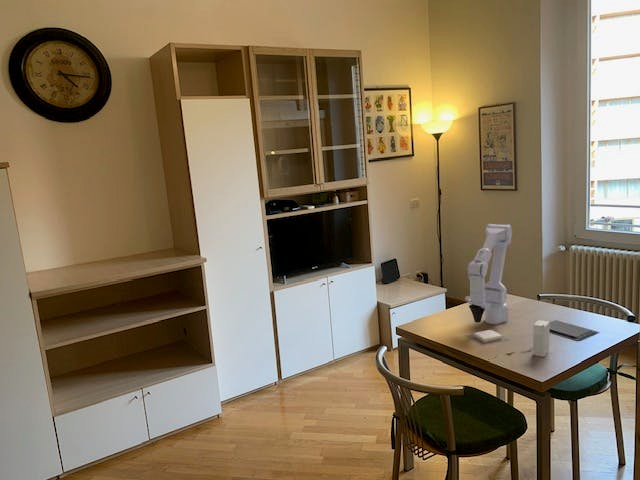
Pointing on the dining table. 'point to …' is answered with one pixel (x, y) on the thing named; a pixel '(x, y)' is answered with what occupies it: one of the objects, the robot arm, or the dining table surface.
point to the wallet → (570, 331)
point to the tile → (487, 336)
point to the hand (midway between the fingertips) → (477, 321)
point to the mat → (487, 342)
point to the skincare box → (541, 338)
